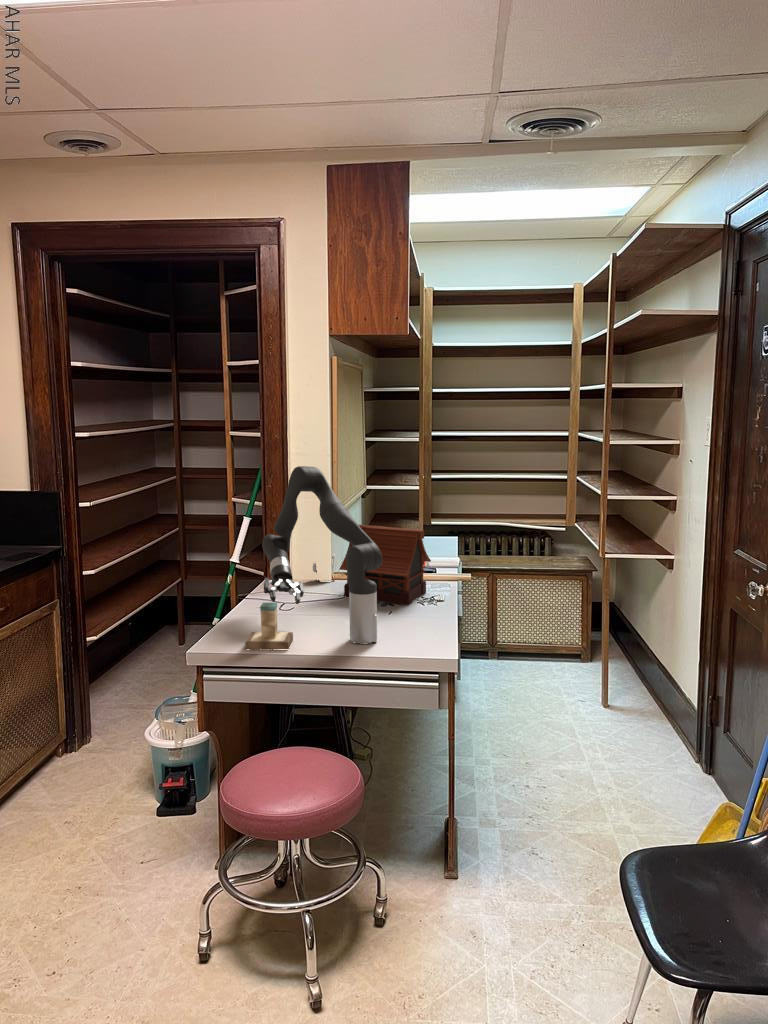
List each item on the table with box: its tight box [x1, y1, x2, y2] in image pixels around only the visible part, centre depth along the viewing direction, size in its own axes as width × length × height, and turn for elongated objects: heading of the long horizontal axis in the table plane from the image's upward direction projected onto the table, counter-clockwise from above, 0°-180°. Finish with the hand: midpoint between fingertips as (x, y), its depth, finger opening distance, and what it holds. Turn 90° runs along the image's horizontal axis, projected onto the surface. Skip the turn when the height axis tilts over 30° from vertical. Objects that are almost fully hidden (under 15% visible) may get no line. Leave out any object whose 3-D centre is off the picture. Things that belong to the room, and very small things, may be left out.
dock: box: [245, 631, 294, 651], centre depth 242 cm, size 14×10×3 cm
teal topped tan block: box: [259, 602, 278, 639], centre depth 241 cm, size 5×5×11 cm
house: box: [339, 524, 432, 606], centre depth 301 cm, size 35×28×29 cm
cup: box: [312, 553, 336, 574], centre depth 326 cm, size 10×9×12 cm
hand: (286, 601), depth 254 cm, fingers open, 8 cm apart
